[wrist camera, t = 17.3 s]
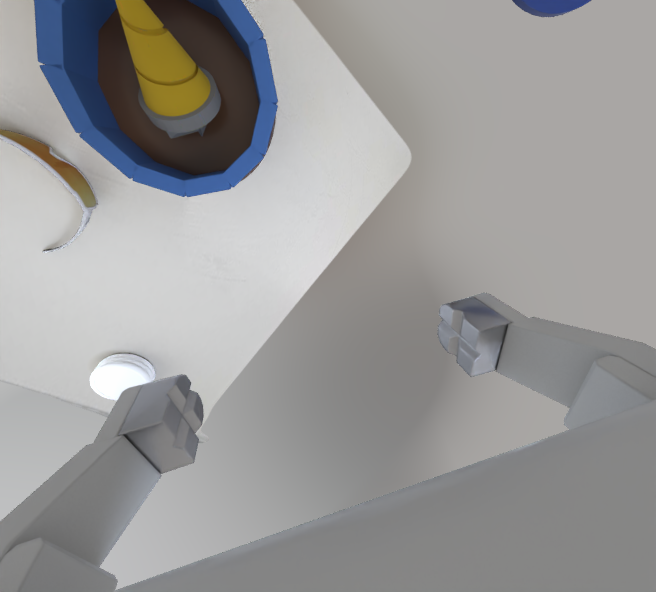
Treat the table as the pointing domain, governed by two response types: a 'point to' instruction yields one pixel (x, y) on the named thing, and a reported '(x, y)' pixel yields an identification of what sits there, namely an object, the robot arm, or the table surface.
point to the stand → (207, 52)
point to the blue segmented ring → (92, 107)
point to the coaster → (120, 374)
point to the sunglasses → (57, 174)
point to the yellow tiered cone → (167, 74)
